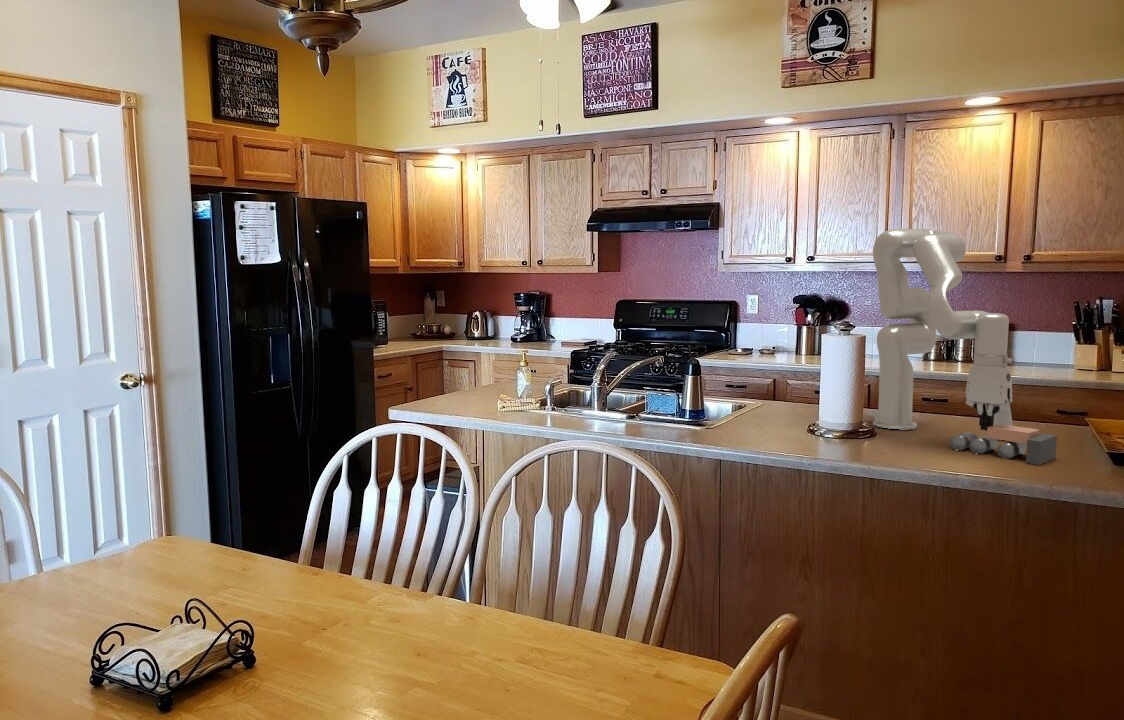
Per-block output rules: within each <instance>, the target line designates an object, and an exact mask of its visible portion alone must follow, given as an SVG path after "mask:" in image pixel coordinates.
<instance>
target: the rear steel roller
mask: <svg viewBox="0 0 1124 720" xmlns="http://www.w3.org/2000/svg"><path fill="white" fill-rule="evenodd" d="M977 438H978V436H977V435H976V434H975V433H974V432H972V431H967V432H963V433H961V434H958V435H953V436H952V437H951V438H950V440H949V442H948V443H949V446H950V448H951V449H952V450H953V449H958V450H960V451H963V450H966V449H970V448H969V444H970V442H971V441H972V440H974V439H977Z"/></svg>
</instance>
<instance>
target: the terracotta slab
mask: <svg viewBox="0 0 1124 720" xmlns="http://www.w3.org/2000/svg"><path fill="white" fill-rule="evenodd" d="M986 435H987V438H992V439H999V440H998V441H1002V440H1005V441H1006V442H1009V441H1012V442H1019V443H1025V445H1027V440H1028V439H1030V438H1033V437H1036V436H1039V435H1040V429H1038V428H1031V427H1024V426H1016V425H1013V426H1010V425H1002V424H996V425H993V426H990V427H987V431H986Z"/></svg>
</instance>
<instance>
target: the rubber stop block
mask: <svg viewBox="0 0 1124 720" xmlns="http://www.w3.org/2000/svg"><path fill="white" fill-rule="evenodd" d="M1057 437H1058V435H1056V434H1048V433H1042V434H1039V436H1036V437H1033V438H1030V439H1028V440H1027V444H1026V456H1025V457H1026V459H1025V464H1028V463H1030V464H1029V465H1034V464H1036V466H1041V464H1042V465H1043V463H1044V464H1046V463H1049V462H1051V461H1053V460H1056V459H1055V458H1056V457H1057V454H1056V453H1057V441H1058V439H1057ZM1050 460H1051V461H1050ZM1048 461H1049V462H1048Z"/></svg>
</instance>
